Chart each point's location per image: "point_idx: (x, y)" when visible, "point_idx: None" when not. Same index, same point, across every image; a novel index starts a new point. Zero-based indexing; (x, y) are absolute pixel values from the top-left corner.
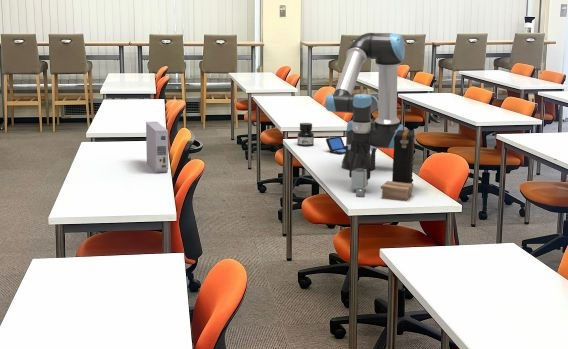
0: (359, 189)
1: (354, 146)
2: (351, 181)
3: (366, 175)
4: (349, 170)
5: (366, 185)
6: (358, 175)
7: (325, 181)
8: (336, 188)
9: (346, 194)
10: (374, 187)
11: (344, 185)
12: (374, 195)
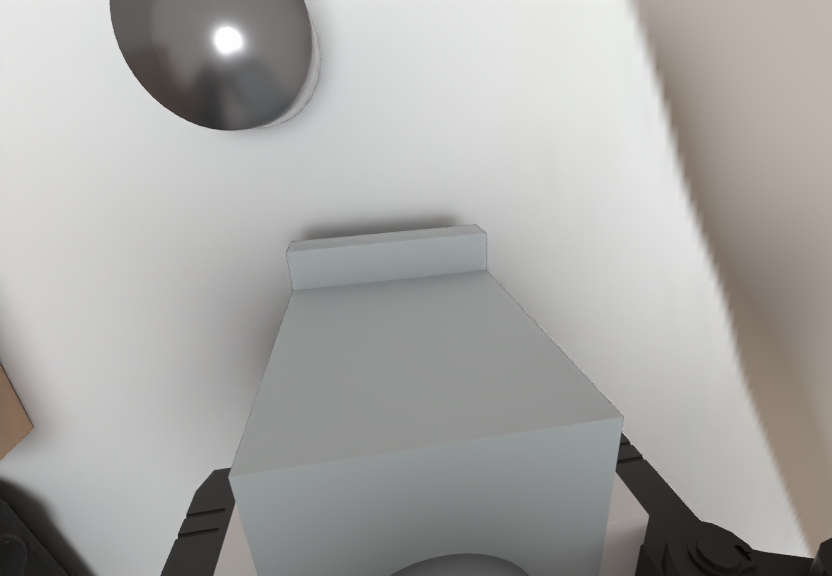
0: (228, 2)
1: None
2: None
3: (235, 512)
4: (703, 527)
5: None
6: (397, 389)
7: (779, 489)
8: (660, 315)
9: (480, 66)
10: None
11: None
12: (93, 217)
